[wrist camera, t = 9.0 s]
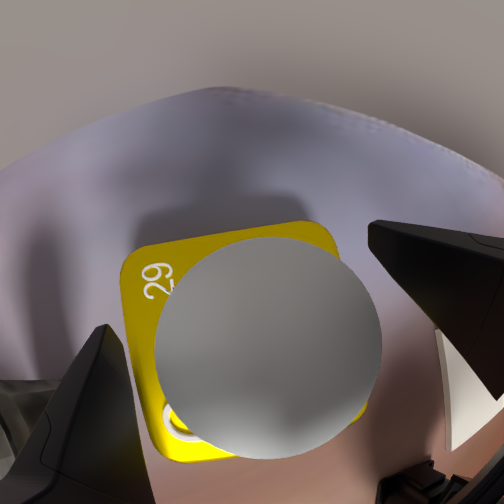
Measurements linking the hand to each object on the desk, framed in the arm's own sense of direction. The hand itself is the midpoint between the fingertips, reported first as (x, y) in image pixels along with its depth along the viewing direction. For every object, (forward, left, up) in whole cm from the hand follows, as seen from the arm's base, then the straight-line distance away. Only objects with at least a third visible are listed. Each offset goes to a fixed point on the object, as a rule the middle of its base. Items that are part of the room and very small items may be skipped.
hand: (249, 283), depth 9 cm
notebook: (-8, -29, -13) cm, 33 cm away
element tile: (-2, 0, -14) cm, 14 cm away
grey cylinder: (-2, 0, -9) cm, 9 cm away
